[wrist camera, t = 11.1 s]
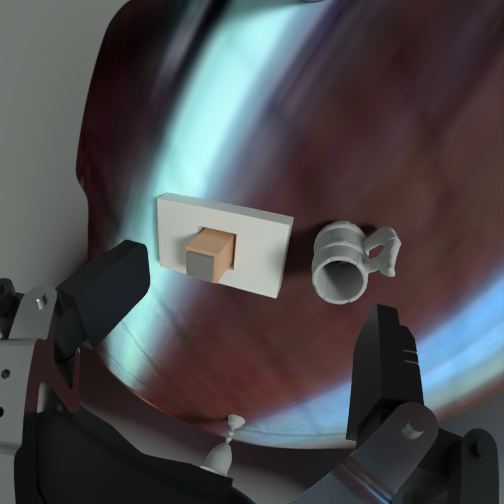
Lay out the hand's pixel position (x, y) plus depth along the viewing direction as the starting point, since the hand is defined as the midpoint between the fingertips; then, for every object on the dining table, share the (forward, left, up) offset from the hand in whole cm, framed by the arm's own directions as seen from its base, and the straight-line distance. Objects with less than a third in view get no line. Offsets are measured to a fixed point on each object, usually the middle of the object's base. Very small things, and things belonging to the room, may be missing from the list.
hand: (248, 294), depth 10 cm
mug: (+10, +7, -30) cm, 33 cm away
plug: (+15, -12, -30) cm, 36 cm away
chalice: (+69, -6, -30) cm, 76 cm away
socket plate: (+15, -12, -30) cm, 36 cm away
